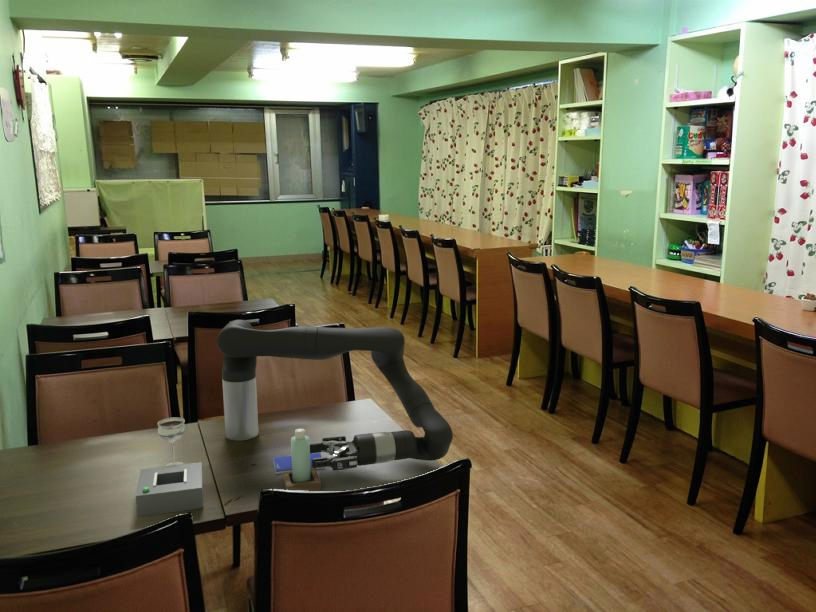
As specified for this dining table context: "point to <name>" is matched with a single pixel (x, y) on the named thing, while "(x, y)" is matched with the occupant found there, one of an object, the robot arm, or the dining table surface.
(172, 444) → the wineglass
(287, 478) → the box
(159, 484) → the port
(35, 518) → the dining table surface
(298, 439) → the mint green bottle
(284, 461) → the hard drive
